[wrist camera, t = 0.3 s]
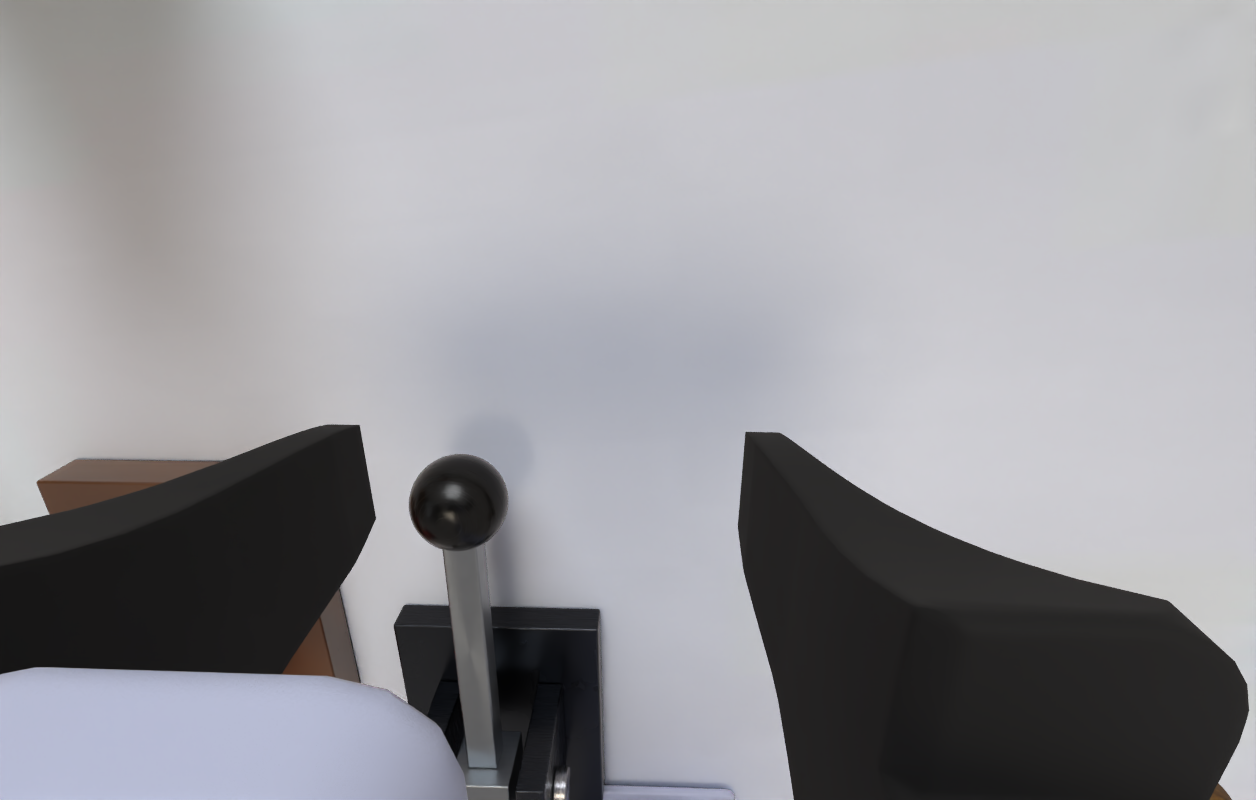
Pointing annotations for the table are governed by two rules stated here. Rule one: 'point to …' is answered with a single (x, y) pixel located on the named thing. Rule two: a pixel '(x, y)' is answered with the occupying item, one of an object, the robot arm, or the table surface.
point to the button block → (113, 478)
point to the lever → (471, 609)
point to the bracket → (520, 690)
